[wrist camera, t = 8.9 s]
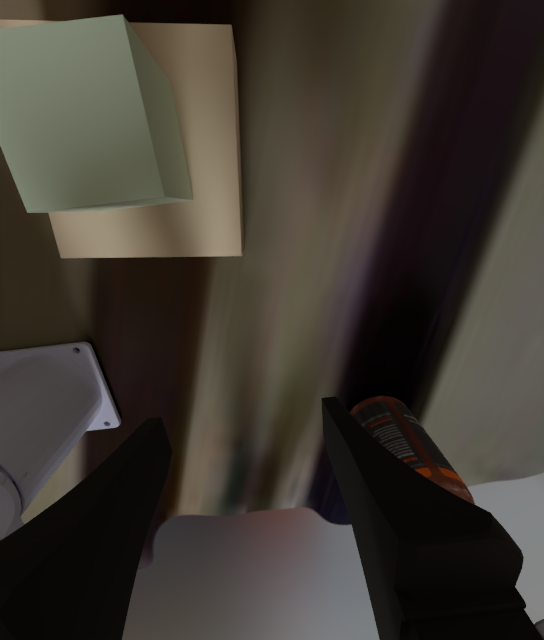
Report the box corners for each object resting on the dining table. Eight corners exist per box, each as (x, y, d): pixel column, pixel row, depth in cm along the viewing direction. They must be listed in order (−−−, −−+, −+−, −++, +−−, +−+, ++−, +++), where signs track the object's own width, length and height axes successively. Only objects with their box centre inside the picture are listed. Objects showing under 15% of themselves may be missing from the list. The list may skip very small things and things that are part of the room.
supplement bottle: (329, 429, 26) (378, 582, 15) (370, 381, 24) (456, 517, 14) (379, 452, 27) (455, 608, 17) (421, 409, 25) (536, 552, 15)
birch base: (98, 248, 19) (60, 258, 16) (56, 63, 16) (-7, 19, 12) (244, 246, 20) (241, 256, 16) (237, 66, 16) (231, 24, 12)
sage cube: (99, 211, 15) (27, 212, 10) (62, 95, 13) (-45, 34, 8) (193, 200, 15) (164, 196, 10) (170, 83, 13) (122, 14, 8)
